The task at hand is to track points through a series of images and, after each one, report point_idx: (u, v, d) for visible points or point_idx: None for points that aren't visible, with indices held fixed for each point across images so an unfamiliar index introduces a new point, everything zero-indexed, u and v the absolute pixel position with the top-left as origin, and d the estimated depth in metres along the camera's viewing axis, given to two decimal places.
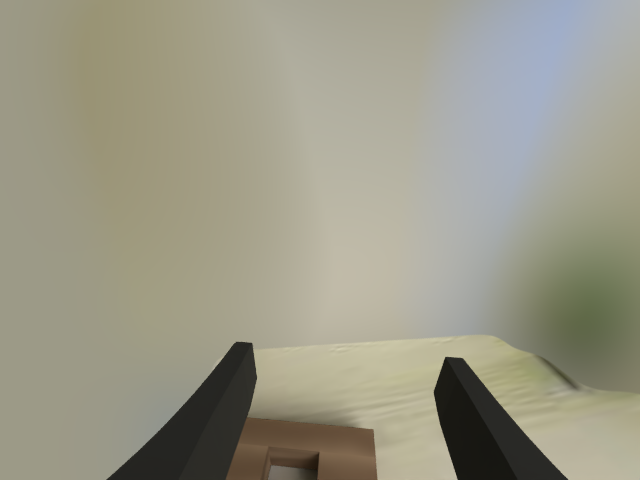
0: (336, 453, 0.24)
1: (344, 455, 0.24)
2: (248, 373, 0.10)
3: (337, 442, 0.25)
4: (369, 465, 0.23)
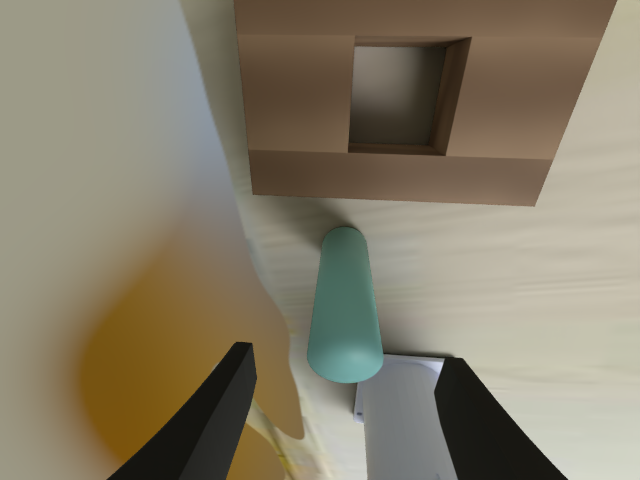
0: (510, 37, 0.11)
1: (527, 37, 0.11)
2: (248, 373, 0.10)
3: (521, 8, 0.10)
4: (579, 57, 0.11)
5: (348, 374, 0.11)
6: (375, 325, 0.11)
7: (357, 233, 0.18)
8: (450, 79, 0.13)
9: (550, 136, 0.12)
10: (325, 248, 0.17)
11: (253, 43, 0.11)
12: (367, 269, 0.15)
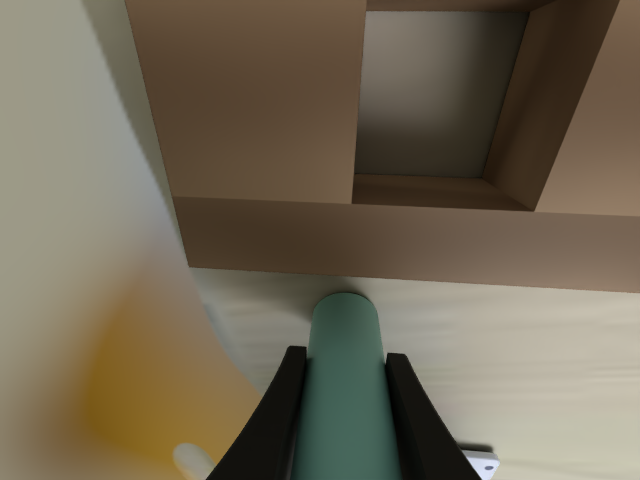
0: None
1: None
2: None
3: None
4: None
5: None
6: None
7: (364, 304, 0.12)
8: (545, 68, 0.07)
9: None
10: (315, 334, 0.11)
11: None
12: (383, 388, 0.09)
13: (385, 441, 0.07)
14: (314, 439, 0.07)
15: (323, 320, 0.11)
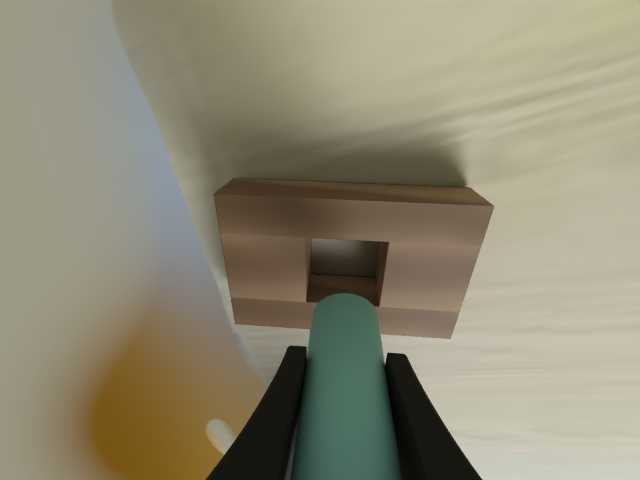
0: (416, 243, 0.15)
1: (429, 242, 0.15)
2: None
3: (421, 228, 0.14)
4: (466, 256, 0.15)
5: None
6: None
7: (364, 305, 0.12)
8: (382, 250, 0.17)
9: (454, 298, 0.16)
10: (315, 334, 0.11)
11: (232, 238, 0.16)
12: (383, 390, 0.09)
13: (385, 443, 0.07)
14: (314, 441, 0.07)
15: (323, 320, 0.11)
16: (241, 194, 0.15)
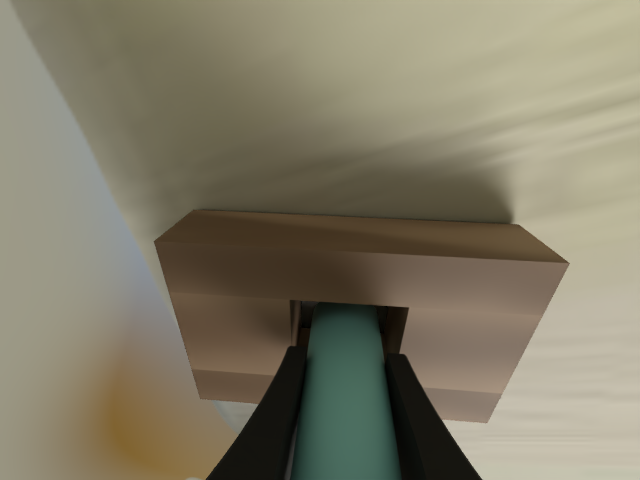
0: (448, 309, 0.10)
1: (466, 307, 0.10)
2: None
3: (457, 291, 0.10)
4: (520, 327, 0.10)
5: None
6: None
7: (364, 305, 0.12)
8: (397, 308, 0.12)
9: (497, 378, 0.12)
10: (315, 334, 0.11)
11: (186, 299, 0.11)
12: (383, 390, 0.09)
13: (385, 443, 0.07)
14: (314, 440, 0.07)
15: (323, 320, 0.11)
16: (194, 241, 0.10)
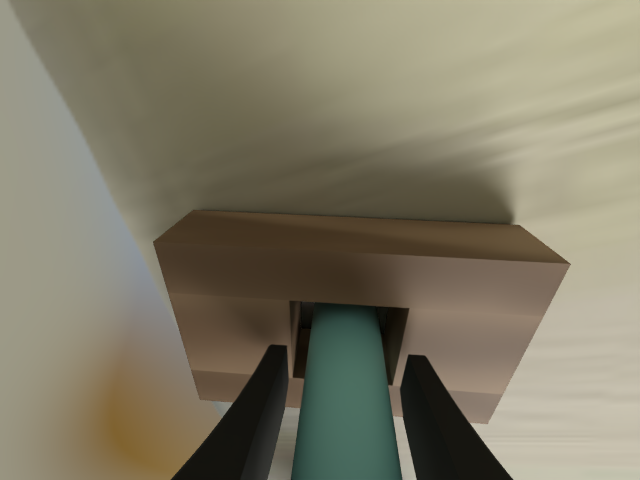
0: (448, 310, 0.10)
1: (467, 308, 0.10)
2: (284, 376, 0.10)
3: (458, 292, 0.10)
4: (521, 328, 0.10)
5: None
6: None
7: None
8: (397, 308, 0.12)
9: (498, 379, 0.12)
10: (319, 310, 0.12)
11: (185, 299, 0.11)
12: (379, 354, 0.10)
13: (380, 394, 0.09)
14: (319, 391, 0.09)
15: None
16: (193, 241, 0.10)
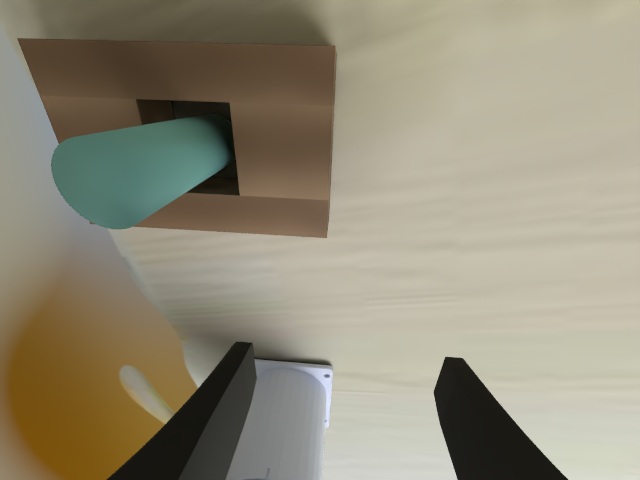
0: (260, 103, 0.13)
1: (276, 103, 0.13)
2: (248, 373, 0.10)
3: (261, 82, 0.12)
4: (319, 120, 0.13)
5: (114, 213, 0.09)
6: (149, 153, 0.09)
7: (222, 119, 0.16)
8: None
9: (319, 181, 0.14)
10: None
11: (55, 103, 0.14)
12: (202, 134, 0.13)
13: (179, 136, 0.11)
14: None
15: None
16: (50, 39, 0.12)
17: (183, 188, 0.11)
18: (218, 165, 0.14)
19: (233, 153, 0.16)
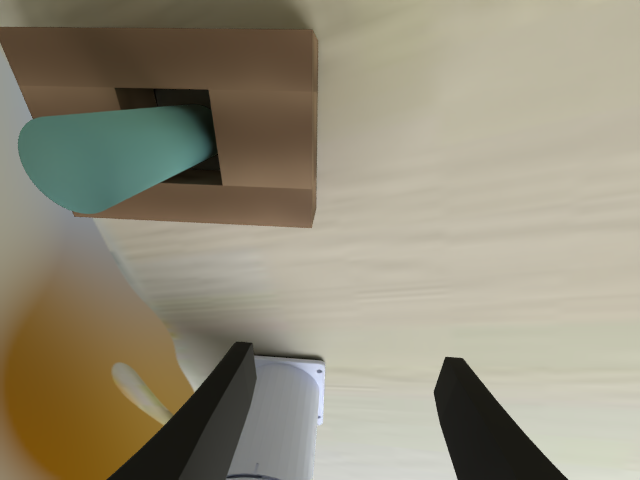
0: (239, 90, 0.13)
1: (255, 90, 0.13)
2: (248, 373, 0.10)
3: (239, 67, 0.12)
4: (300, 107, 0.13)
5: (84, 197, 0.09)
6: (119, 136, 0.09)
7: (205, 109, 0.16)
8: None
9: (302, 170, 0.14)
10: None
11: (34, 92, 0.13)
12: (181, 122, 0.13)
13: (155, 121, 0.11)
14: None
15: None
16: (27, 27, 0.12)
17: (159, 174, 0.11)
18: (200, 154, 0.14)
19: None
